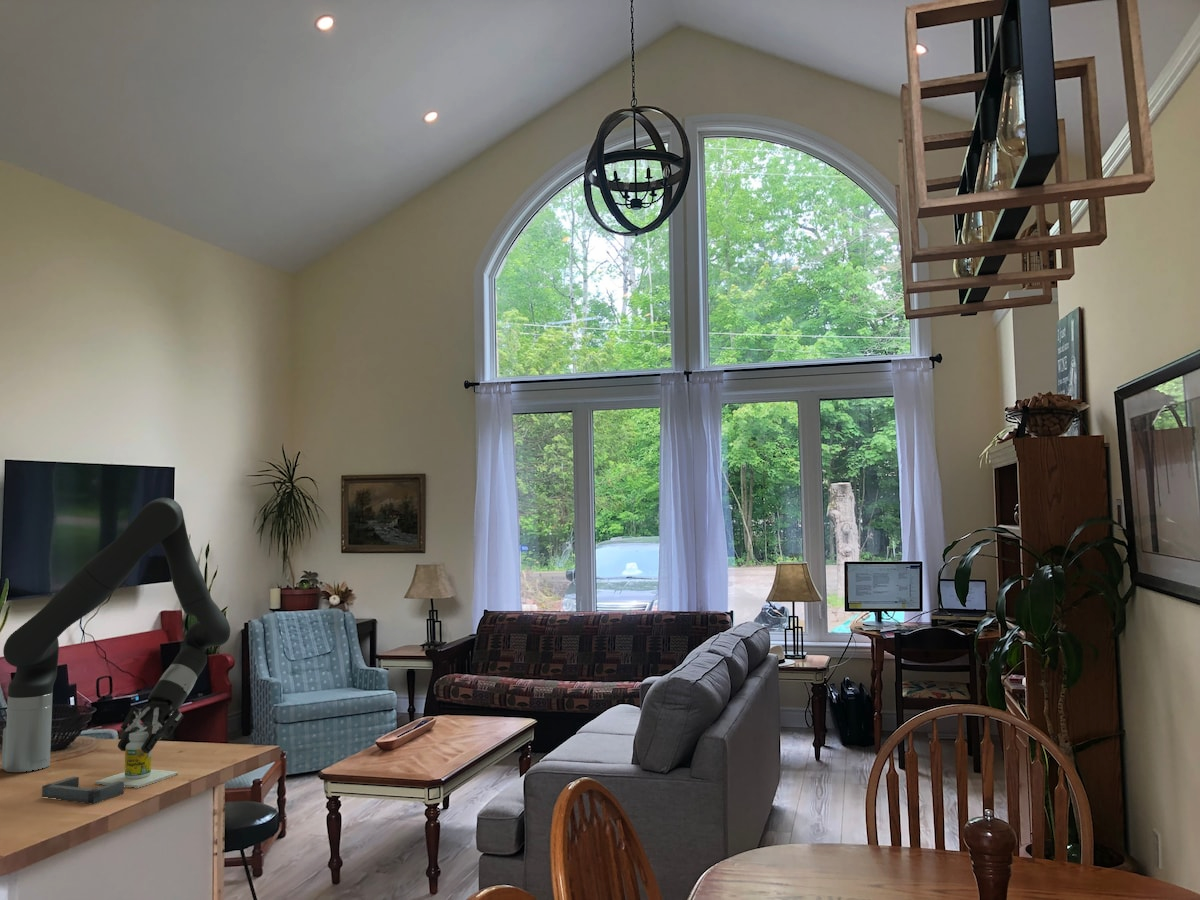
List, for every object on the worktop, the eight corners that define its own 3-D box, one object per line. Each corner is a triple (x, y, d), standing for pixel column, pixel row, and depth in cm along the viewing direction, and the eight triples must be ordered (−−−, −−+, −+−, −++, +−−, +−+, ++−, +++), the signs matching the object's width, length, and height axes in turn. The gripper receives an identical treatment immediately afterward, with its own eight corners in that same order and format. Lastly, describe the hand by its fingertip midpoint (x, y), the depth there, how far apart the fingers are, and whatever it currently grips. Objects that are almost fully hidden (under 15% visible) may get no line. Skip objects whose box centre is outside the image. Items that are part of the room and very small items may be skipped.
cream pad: (95, 784, 207) (95, 781, 208) (137, 770, 219) (137, 767, 219) (138, 788, 204) (138, 785, 204) (178, 774, 215) (178, 771, 215)
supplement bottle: (153, 772, 215) (154, 729, 216) (147, 778, 210) (149, 734, 210) (127, 773, 214) (129, 731, 214) (121, 780, 208) (123, 736, 209)
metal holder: (41, 798, 197) (42, 786, 197) (73, 788, 204) (73, 776, 205) (93, 804, 193) (94, 791, 193) (123, 793, 200) (123, 781, 200)
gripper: (141, 677, 222) (98, 738, 210) (190, 680, 218) (149, 743, 206) (157, 695, 227) (116, 757, 215) (205, 698, 222) (166, 761, 210)
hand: (132, 750), depth 210 cm, fingers open, 6 cm apart
